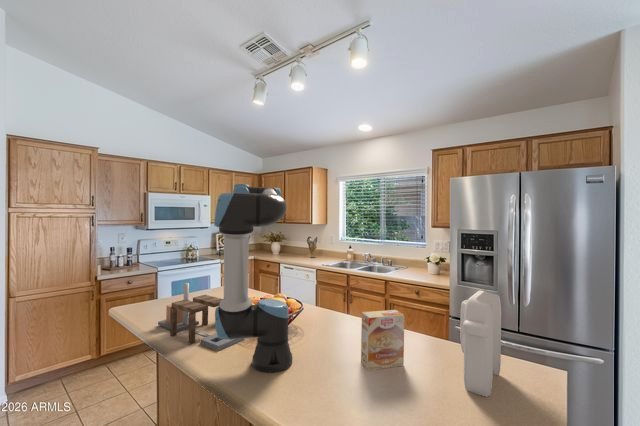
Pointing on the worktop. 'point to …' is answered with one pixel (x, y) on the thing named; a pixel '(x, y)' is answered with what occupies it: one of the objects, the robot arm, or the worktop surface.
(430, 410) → the worktop surface
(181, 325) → the white lever handle
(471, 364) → the white upright slab
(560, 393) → the worktop surface
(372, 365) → the coffeecake box
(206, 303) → the wooden rack
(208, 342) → the pit plate
